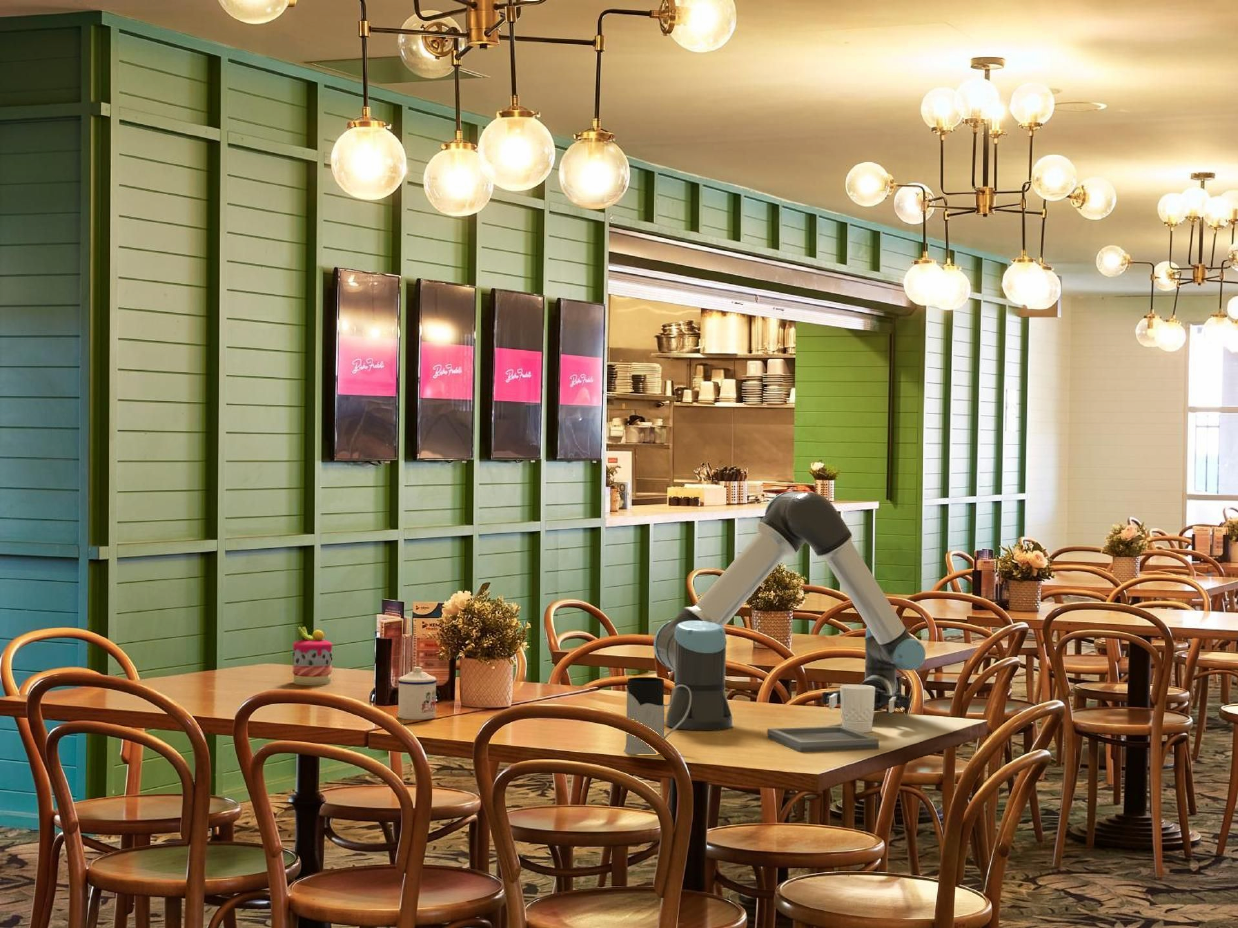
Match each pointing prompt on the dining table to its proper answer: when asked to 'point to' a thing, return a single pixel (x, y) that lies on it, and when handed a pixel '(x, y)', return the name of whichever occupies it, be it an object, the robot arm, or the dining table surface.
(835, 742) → the serving tray
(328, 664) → the cake
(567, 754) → the dining table surface
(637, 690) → the glass holder
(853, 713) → the white cup
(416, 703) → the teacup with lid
